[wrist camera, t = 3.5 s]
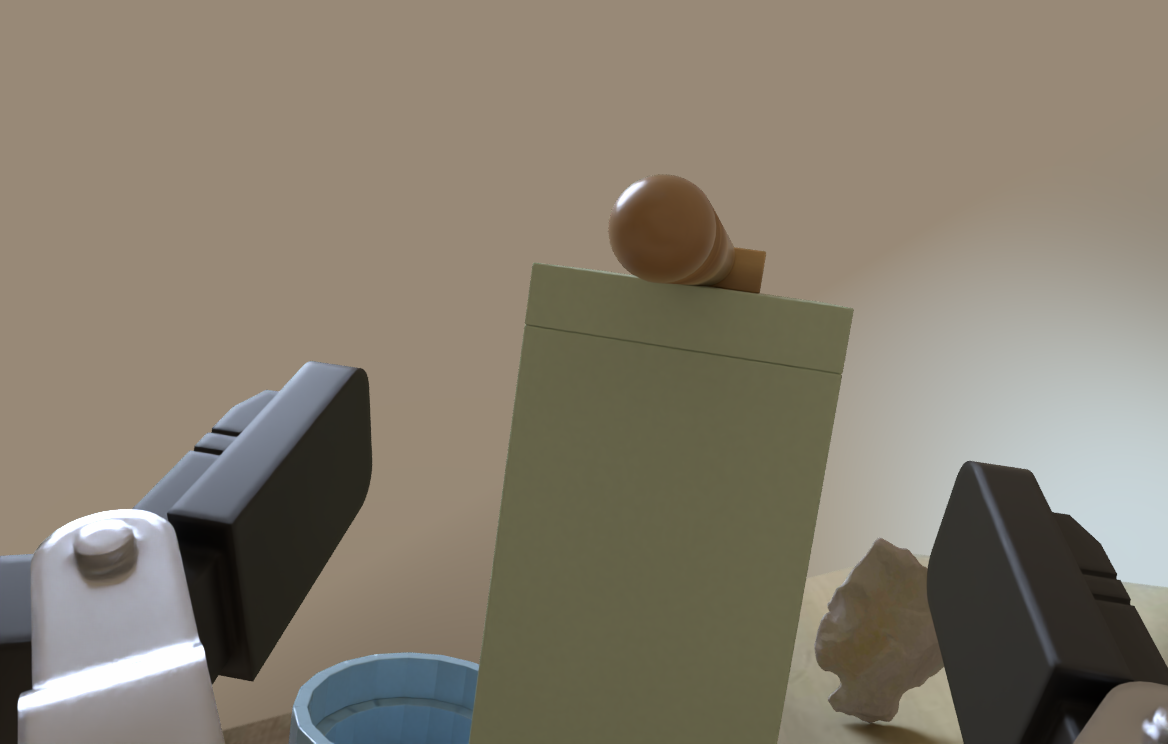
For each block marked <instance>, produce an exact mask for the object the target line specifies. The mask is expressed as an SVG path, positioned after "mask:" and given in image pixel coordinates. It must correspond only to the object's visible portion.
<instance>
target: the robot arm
mask: <svg viewBox="0 0 1168 744" xmlns="http://www.w3.org/2000/svg"><path fill="white" fill-rule="evenodd" d="M371 472H372V446H371V421H370V398H369V382H368V377H367V374H366V372H365V371H364V370H363V369H361V368H355V367H348V366H341V365H335V364H328V363H321V362H315V361H310V362H307V363H306V364H305V365H304V366H303V367H302V368H301V369H300V370H299V371H298V372H297V373H296V374H295V375H294V376H293V377H292V378H291V380H290V381H289V382H288V383H287V384H286V385H285V386H284V387H283V388H282V389H281V390H280V391H279V392H277V391H270V390H265V391H263V392H262V393H259V394H257V395H256V396H254V397H252V398H250V399H248V400H246V401H244V402H242V403H240V404H238V405H236V406H234V407H233V408H232V409H231V410H230V411H229V412H228V413H227V414H226V415H225V416H224V417H223V418H222V419H221V420H220V421H219V422H218V423H217V424H216V425H215V426H214V427H213V428H212V432H211V433H207V434H206V435H205V436H204V437H203V438H202V439H201V440H200V441H199V442H198V443H197V444H196V445H195V448H194V451H189V452H188V453H187V454H186V455H185V456H184V457H183V458H182V459H181V460H180V461H179V462H178V463H177V464H176V465H175V466H174V467H173V468H172V469H171V470H170V471H169V472H168V473H167V474H166V475H165V476H164V477H163V478H162V480H160V481H159V483H157V484H156V486H155V487H154V488H153V489H152V490H151V491H150V492H149V493H148V494H147V495H146V496H145V497H144V498H143V499H142V500H141V501H140V502H139V503H138V504H137V505H136V506H135V507H134V508H133V509H132V510H113V511H107V512H101V513H97V514H93V515H89V516H86V517H84V518H81V519H78V520H76V521H74V522H71V523H69V524H67V525H65V526H64V527H62V528H60V529H59V530H57V531H55V532H54V533H53V534H51V535H50V536H49V537H47V538H46V539H45V540H44V541H43V542H42V543H41V544H40V546H39V547H38V548H37V550H36V551H35V553H34V554H26V555H9V556H0V744H225V742H224V738H223V733H222V729H221V724H220V720H219V715H218V711H217V707H216V702H215V698H214V693H213V689H212V684H213V683H214V681H215V680H216V678H217V677H218V675H221V676H227V677H232V678H237V679H243V680H248V681H254V679H255V677H256V676H257V674H258V673H259V671H260V669H261V668H262V666H263V665H264V663H265V661H266V660H267V658H268V657H269V655H270V653H271V652H272V650H273V648H274V647H275V645H276V643H277V642H278V640H279V639H280V637H281V636H282V634H283V632H284V631H285V629H286V628H287V626H288V624H289V623H290V621H291V620H292V618H293V616H294V615H295V613H296V611H297V610H298V608H299V607H300V605H301V603H302V602H303V600H304V599H305V597H306V595H307V594H308V592H309V591H310V589H311V587H312V585H313V584H314V583H315V581H316V579H317V578H318V576H319V575H320V573H321V571H322V570H323V568H324V566H325V565H326V563H327V562H328V560H329V558H330V557H331V555H332V553H333V552H334V550H335V549H336V547H337V545H338V544H339V542H340V541H341V539H342V537H343V536H344V534H345V533H346V531H347V529H348V528H349V526H350V525H351V523H352V521H353V520H354V518H355V517H356V515H357V513H358V512H359V510H360V509H361V507H362V505H363V503H364V501H365V498H366V495H367V492H368V488H369V485H370V479H371ZM1116 576H1117V573H1116V572H1115V569H1114V568H1113V566H1112V564H1111V563H1110V560H1109V559H1108V556H1107V555H1106V553H1105V551H1104V549H1103V547H1102V545H1101V544H1100V543H1099V542H1098V541H1097V540H1096V539H1095V538H1094V537H1093V536H1092V535H1090V533H1088V532H1087V531H1086V530H1085V529H1084V528H1083V527H1082V526H1081V525H1080V524H1079V523H1078V522H1076V521H1075V520H1074V519H1073V518H1072V517H1071V516H1070V515H1067V514H1060V513H1054V512H1052V511H1051V509H1050V507H1049V505H1048V503H1047V501H1046V499H1045V497H1044V495H1043V493H1042V491H1041V489H1040V487H1039V485H1038V482H1037V481H1036V478H1035V476H1034V475H1033V473H1032V472H1031V471H1029V470H1026V469H1021V468H1014V467H1007V466H1000V465H993V464H987V463H980V462H974V461H967V462H965V463H964V464H963V466H962V467H961V469H960V471H959V473H958V475H957V478H956V481H955V484H954V487H953V490H952V493H951V496H950V499H949V502H948V505H947V508H946V510H945V514H944V517H943V519H942V522H941V525H940V528H939V531H938V534H937V537H936V540H935V543H934V546H933V549H932V552H931V555H930V559H929V564H928V571H927V599H928V604H929V608H930V612H931V616H932V620H933V624H934V628H935V632H936V636H937V640H938V644H939V648H940V651H941V655H942V659H943V663H944V667H945V671H946V675H947V679H948V683H949V687H950V691H951V695H952V699H953V703H954V707H955V710H956V714H957V718H958V722H959V726H960V730H961V734H962V738H963V742H964V744H1168V667H1167V666H1166V664H1165V662H1164V660H1163V658H1162V656H1161V654H1160V653H1159V651H1158V649H1157V647H1156V645H1155V643H1154V642H1153V640H1152V638H1151V636H1150V634H1149V632H1148V630H1147V629H1146V627H1145V625H1144V623H1143V621H1142V619H1141V617H1140V616H1139V614H1138V612H1137V610H1136V608H1135V606H1132V605H1130V600H1131V599H1130V597H1129V595H1128V593H1127V592H1126V590H1125V588H1124V586H1123V584H1122V582H1121V580H1117V579H1116Z"/></svg>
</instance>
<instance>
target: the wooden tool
mask: <svg viewBox="0 0 1168 744" xmlns="http://www.w3.org/2000/svg"><path fill="white" fill-rule="evenodd" d="M608 232H609V239H610V244H611V247H612V250H613V252H614V254H615V256H616V257H617V259H618V261H619V262H620V263H621V264H622V266H623V267H624V268H625V269H627V270H628V271H629V272H630V273H631V274H633V275H634V276H636V277H638V278H640V279H642V280H645V281H649V282H653V283H666V284H682V285H698V286H707V287H714V288H721V289H728V290H735V291H742V292H749V293H756V294H758V293H760V288H761V282H762V275H763V269H764V263H765V257H766V252H765V251H757V250H750V249H743V248H735V247H734V246H733V244H732V242H731V240H730V238H729V236H728V235H727V233H726V231H725V229H724V227H723V225H722V224H721V222H720V220H719V218H718V216H717V214H716V212H715V211H714V209H713V207H712V205H711V203H710V201H709V200H708V198H707V197H706V195H705V194H704V193H703V192H702V191H701V190H700V189H699V188H698V187H697V186H696V185H694V184H693V183H691V182H690V181H688V180H686V179H684V178H681V177H677V176H672V175H654V176H648V177H645V178H643V179H640V180H638V181H636V182H635V183H633V184H632V185H630V186H629V187H628V188H627V189H626V190H625V191H624V192H623V193H622V194H621V195H620V197H619V198H618V199H617V201H616V202H615V205H614V207H613V209H612V211H611V215H610V219H609V231H608Z"/></svg>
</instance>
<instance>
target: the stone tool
mask: <svg viewBox="0 0 1168 744" xmlns="http://www.w3.org/2000/svg"><path fill="white" fill-rule="evenodd" d="M927 571H928V569H927V568H926V567H924V566H922V565H921V564H920V563H919V562H918V560H917V559H916V558H915V556H913V555H912V553H911V552H910V551H909V550H908V549H906V548H903V549H902V548H898V547H896V546H894V545H893V544H891V543H889V542H888V541H886V540H884V539H882V538H878V539H876V540H875V541H874V543H873V545H872V546H871V548H870V550H869V551H868V552H867V554H866V555H865V556H864V557H863V558H862V559H861V561H860V562H859V563H858V564H857V565H856V566H855V567H854V568H853V569H852V571H851V572H850V574H849V576H848V577H847V578H846V580H845V582H844V583H843V584H842V585H841V586H840V587H838V588H837V589H836V591H835V593H834V595H833V597H832V599H831V601H830V602H829V603H828V604H827V605H828V609H829V613H826V614H825V615H824V616H823V618H822V620H821V623H820V626H819V629H818V632H817V637H816V641H815V644H814V646H815V653H816V659H817V663H818V665H819V666H820V667H821V668H822V669H823V670H824V671H831V672H833V673H834V674H836V675H838V677H839V678H840V681H841V683H840V686H839V687H838V689H837V690H835V691H834V692H833V693H832V694H831V695H830V696H829V697H828V701H829V703H830V704H831V706H832V707H833V709H834V710H835V711H836V712H843V713H845V714H847V715H853V716H855V717H858V718H859V719H861V720H862V721H866V722H869V723H872V722H875V721H879V720H881V721H885V722H890V721H891V720H892V719H893V717H894V716H895V715H896V713H897V712H898V708H899V701H900V699H901V697H902V695H903V693H905V692H906V691H907V690H909V689H911V688H914V687H919V686H921V685H922V684H924V682H925V681H926V680H927V679H928V678H929V677H931V676H933V675H935V674H936V673H938V672H939V671H940V670H941V669H942V668H943V667H944V663H943V659H942V655H941V651H940V648H939V644H938V640H937V636H936V632H935V628H934V624H933V620H932V616H931V612H930V608H929V604H928V599H927Z"/></svg>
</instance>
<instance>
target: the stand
mask: <svg viewBox="0 0 1168 744" xmlns="http://www.w3.org/2000/svg"><path fill="white" fill-rule="evenodd" d="M853 311H854V310H853V309H852V308H848V307H843V306H838V305H832V304H828V303H823V302H816V301H809V300H802V299H795V298H788V297H781V296H774V295H766V294H760V293H758V294H756V293H749V292H742V291H735V290H728V289H721V288H714V287H707V286H698V285H682V284H666V283H653V282H649V281H645V280H642V279H640V278H638V277H636V276H634V275H627V274H621V273H613V272H606V271H600V270H591V269H583V268H575V267H566V266H558V265H549V264H541V263H533V266H532V274H531V281H530V289H529V296H528V304H527V312H526V319H525V324H526V325H525V327H524V335H523V342H522V350H521V357H520V365H519V373H518V380H517V387H516V394H515V402H514V410H513V417H512V425H511V432H510V439H509V447H508V454H507V461H506V469H505V476H504V484H503V491H502V499H501V506H500V514H499V521H498V529H497V536H496V544H495V551H494V558H493V566H492V573H491V581H490V588H489V596H488V603H487V611H486V618H485V626H484V633H483V641H482V649H481V656H480V663H479V670H478V678H477V685H476V693H475V700H474V708H473V715H472V723H471V730H470V738H469V744H777V741H778V735H779V729H780V724H781V718H782V712H783V707H784V701H785V695H786V690H787V684H788V678H789V673H790V667H791V661H792V656H793V650H794V644H795V639H796V633H797V627H798V622H799V616H800V610H801V605H802V599H803V593H804V588H805V582H806V576H807V571H808V565H809V560H810V554H811V547H812V543H813V537H814V531H815V525H816V520H817V514H818V509H819V503H820V497H821V492H822V486H823V480H824V475H825V469H826V463H827V457H828V452H829V446H830V440H831V435H832V429H833V424H834V418H835V412H836V407H837V401H838V395H839V390H840V384H841V378H842V375H841V374H842V372H843V367H844V361H845V356H846V350H847V345H848V339H849V334H850V328H851V322H852V317H853Z"/></svg>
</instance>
